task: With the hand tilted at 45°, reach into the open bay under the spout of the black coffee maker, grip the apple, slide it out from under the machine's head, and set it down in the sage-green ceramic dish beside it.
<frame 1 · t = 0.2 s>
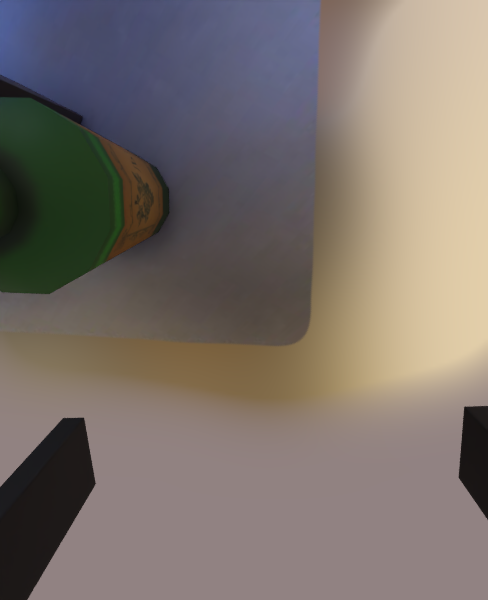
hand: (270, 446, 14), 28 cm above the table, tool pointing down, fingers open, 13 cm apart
bottle: (129, 199, 40), on the table
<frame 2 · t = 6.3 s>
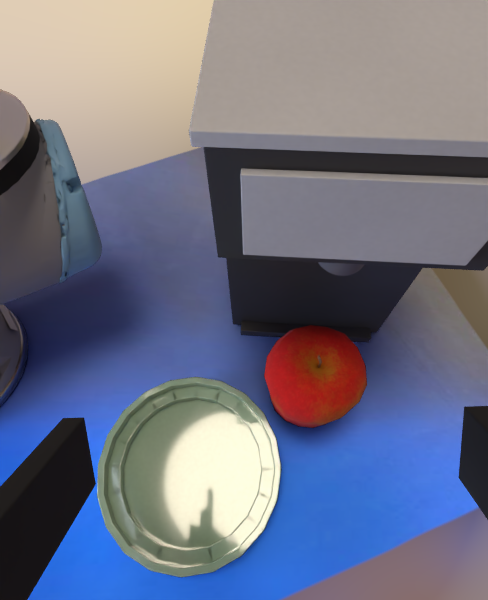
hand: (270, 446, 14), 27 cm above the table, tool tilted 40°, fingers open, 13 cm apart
dish: (193, 469, 39), on the table
coffee maker: (304, 349, 44), on the table
apple: (303, 396, 42), on the table
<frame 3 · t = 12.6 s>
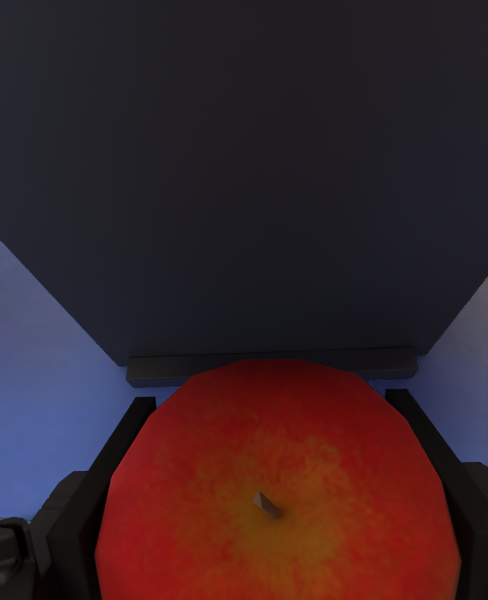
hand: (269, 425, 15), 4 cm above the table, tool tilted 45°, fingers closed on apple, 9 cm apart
coffee maker: (270, 409, 20), on the table
apple: (275, 527, 17), on the table, touching gripper
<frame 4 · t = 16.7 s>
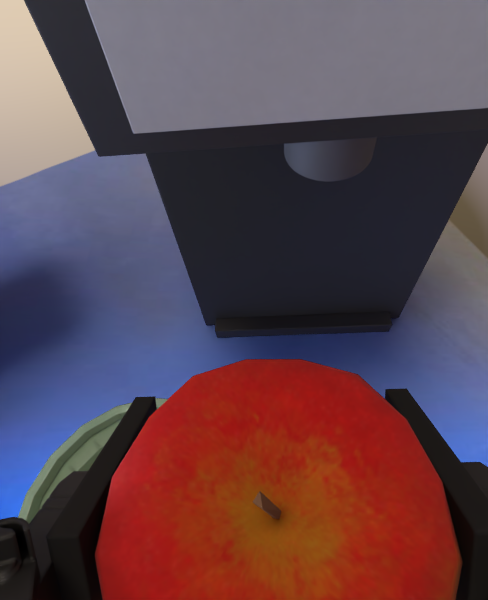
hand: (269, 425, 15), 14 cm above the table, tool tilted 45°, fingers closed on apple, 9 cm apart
dish: (156, 533, 27), on the table
coffee maker: (302, 349, 32), on the table
apple: (275, 527, 17), point 10 cm above the table, touching gripper
when the fingers open (5 cm above the table, at t = 21.1 s): apple stays where it is, resting on dish.
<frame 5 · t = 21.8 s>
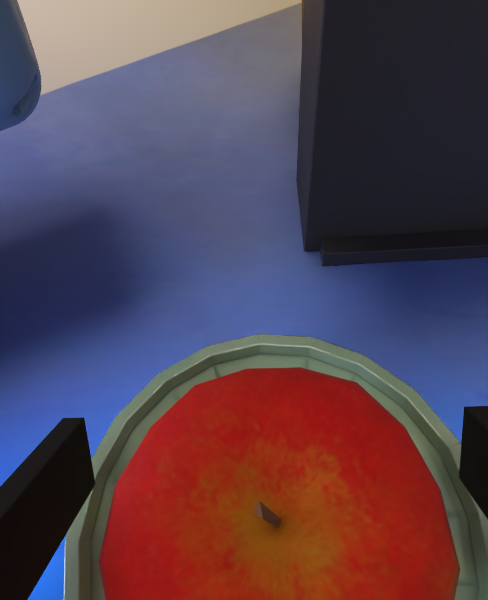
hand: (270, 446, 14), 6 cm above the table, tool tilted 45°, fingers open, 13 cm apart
dish: (275, 528, 18), on the table
coffee maker: (444, 277, 24), on the table
apple: (276, 532, 17), point 1 cm above the table, touching dish
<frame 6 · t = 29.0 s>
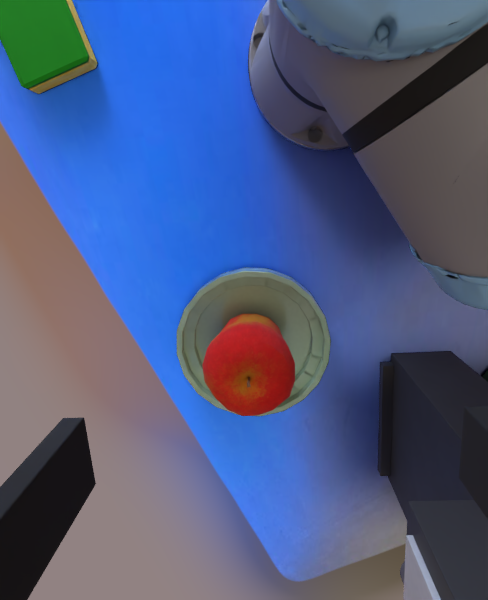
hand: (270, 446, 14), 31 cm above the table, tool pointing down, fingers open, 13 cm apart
dish: (253, 337, 46), on the table
coffee maker: (367, 417, 47), on the table
apple: (252, 339, 45), point 1 cm above the table, touching dish
dish sponge: (36, 8, 39), on the table
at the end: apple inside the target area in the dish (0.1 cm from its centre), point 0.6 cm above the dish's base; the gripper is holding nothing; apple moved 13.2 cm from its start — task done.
